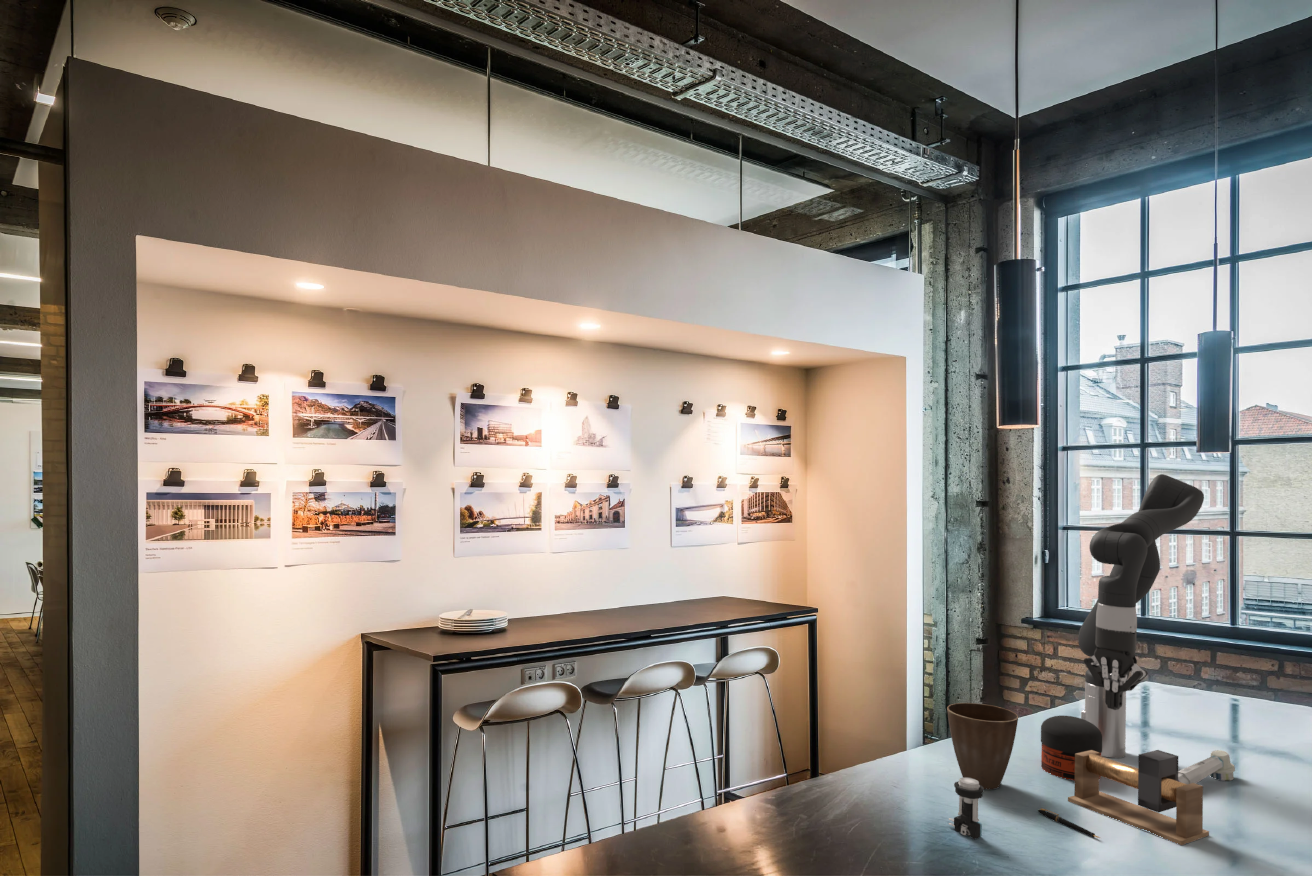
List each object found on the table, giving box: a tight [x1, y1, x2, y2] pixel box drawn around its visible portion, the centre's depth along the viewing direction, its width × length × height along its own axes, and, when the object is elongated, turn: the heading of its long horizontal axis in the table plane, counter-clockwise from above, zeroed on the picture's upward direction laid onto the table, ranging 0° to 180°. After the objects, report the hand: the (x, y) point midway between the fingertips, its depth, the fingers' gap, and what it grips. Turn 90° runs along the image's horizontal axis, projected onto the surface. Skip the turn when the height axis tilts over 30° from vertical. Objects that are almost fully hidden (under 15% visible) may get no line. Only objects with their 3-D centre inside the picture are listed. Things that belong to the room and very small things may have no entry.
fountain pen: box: [1037, 807, 1101, 839], centre depth 161 cm, size 14×1×2 cm, turn 26°
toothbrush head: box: [1178, 749, 1236, 784], centre depth 188 cm, size 5×7×25 cm
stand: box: [1067, 750, 1210, 846], centre depth 167 cm, size 23×10×10 cm, turn 30°
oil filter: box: [1040, 715, 1102, 782], centre depth 193 cm, size 13×12×13 cm
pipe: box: [1086, 754, 1187, 802], centre depth 167 cm, size 19×4×4 cm, turn 30°
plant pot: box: [946, 702, 1019, 790], centre depth 183 cm, size 15×15×16 cm
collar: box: [1137, 749, 1179, 813], centre depth 163 cm, size 4×7×10 cm, turn 120°
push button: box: [948, 777, 985, 840], centre depth 157 cm, size 7×5×10 cm
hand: (1113, 708), depth 171 cm, fingers closed
